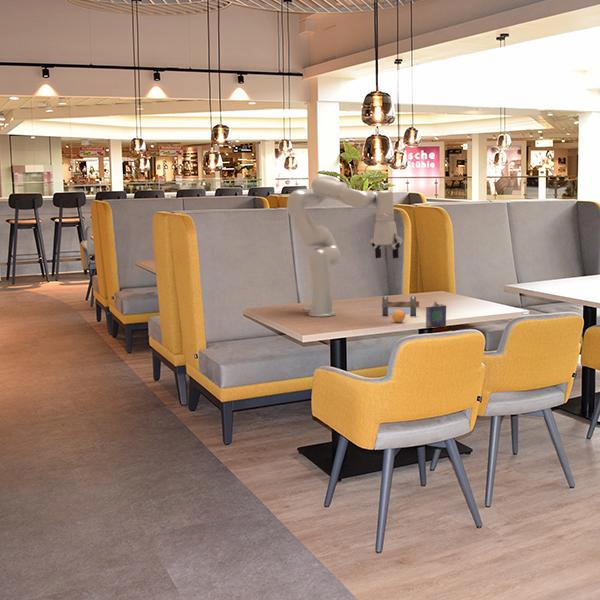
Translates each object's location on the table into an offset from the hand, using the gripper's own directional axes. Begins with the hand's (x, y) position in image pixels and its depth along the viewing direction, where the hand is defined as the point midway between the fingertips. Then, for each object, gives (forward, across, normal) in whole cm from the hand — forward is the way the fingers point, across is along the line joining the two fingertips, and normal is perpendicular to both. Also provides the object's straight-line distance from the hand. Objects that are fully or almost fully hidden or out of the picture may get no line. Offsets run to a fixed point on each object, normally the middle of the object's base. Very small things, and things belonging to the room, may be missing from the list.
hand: (386, 258), depth 348 cm
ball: (+25, +6, 0) cm, 26 cm away
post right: (+28, +1, +16) cm, 32 cm away
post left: (+28, -9, +9) cm, 30 cm away
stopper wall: (+27, -21, +35) cm, 49 cm away
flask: (+29, +24, +2) cm, 38 cm away
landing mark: (+28, -12, +24) cm, 38 cm away
